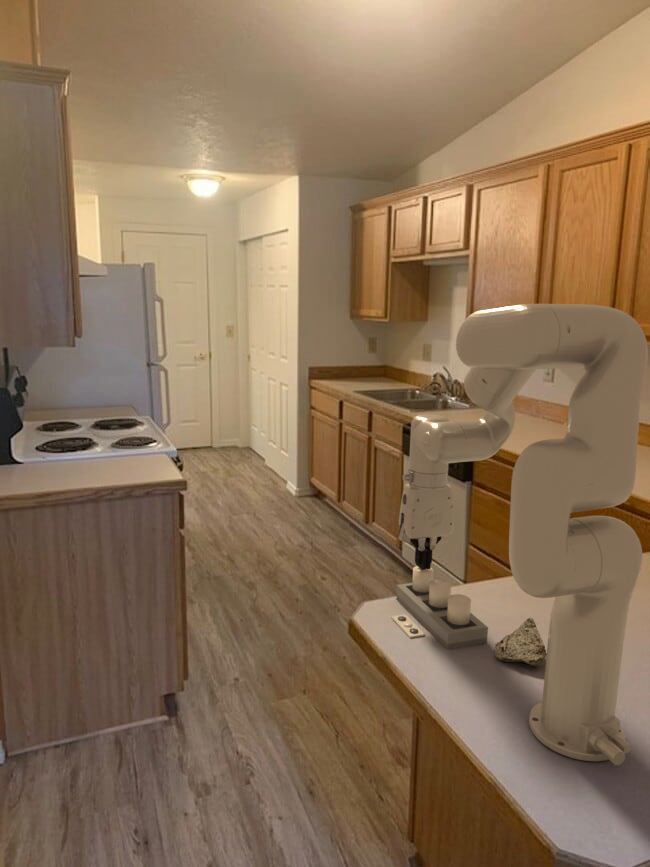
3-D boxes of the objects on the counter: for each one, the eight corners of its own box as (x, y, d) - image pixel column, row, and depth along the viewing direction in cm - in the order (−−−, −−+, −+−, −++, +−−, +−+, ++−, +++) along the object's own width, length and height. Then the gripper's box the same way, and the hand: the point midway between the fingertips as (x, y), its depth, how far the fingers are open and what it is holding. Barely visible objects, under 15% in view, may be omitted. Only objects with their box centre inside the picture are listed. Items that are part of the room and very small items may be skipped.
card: (424, 635, 118) (425, 633, 118) (410, 638, 117) (410, 635, 117) (405, 615, 125) (405, 613, 125) (391, 618, 124) (391, 615, 124)
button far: (435, 591, 129) (437, 572, 128) (417, 593, 127) (418, 574, 127) (426, 583, 132) (427, 564, 132) (408, 585, 131) (409, 566, 130)
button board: (486, 642, 116) (487, 627, 115) (447, 649, 113) (448, 633, 112) (430, 593, 135) (431, 580, 134) (396, 598, 132) (396, 584, 132)
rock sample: (478, 623, 115) (520, 600, 111) (502, 641, 118) (543, 619, 115) (492, 675, 106) (538, 652, 103) (518, 693, 110) (563, 671, 106)
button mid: (453, 606, 122) (455, 586, 121) (435, 609, 121) (436, 589, 120) (443, 597, 126) (444, 578, 125) (425, 600, 125) (426, 580, 124)
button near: (473, 623, 116) (475, 602, 115) (454, 626, 114) (455, 605, 114) (462, 613, 119) (463, 593, 119) (442, 616, 118) (444, 595, 117)
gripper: (401, 486, 120) (396, 578, 123) (471, 480, 125) (465, 570, 128) (384, 475, 127) (381, 564, 130) (452, 471, 132) (446, 556, 135)
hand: (422, 566), depth 129 cm, fingers closed
